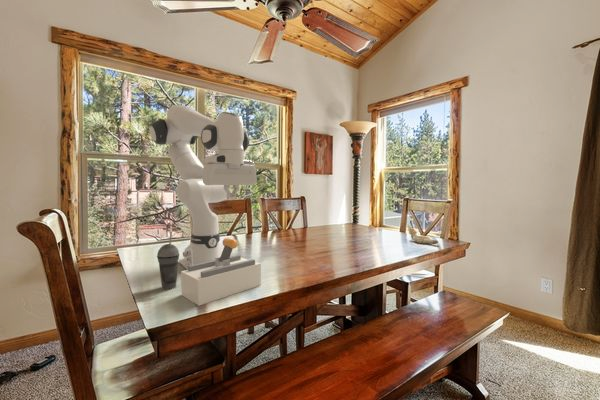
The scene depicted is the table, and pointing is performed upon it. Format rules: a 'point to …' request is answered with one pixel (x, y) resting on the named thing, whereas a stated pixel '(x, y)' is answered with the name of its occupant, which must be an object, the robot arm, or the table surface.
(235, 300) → the table surface
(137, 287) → the table surface
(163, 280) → the beverage cup
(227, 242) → the lever
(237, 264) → the grey slotted rail
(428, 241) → the lying animal figurine
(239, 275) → the box
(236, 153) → the robot arm
